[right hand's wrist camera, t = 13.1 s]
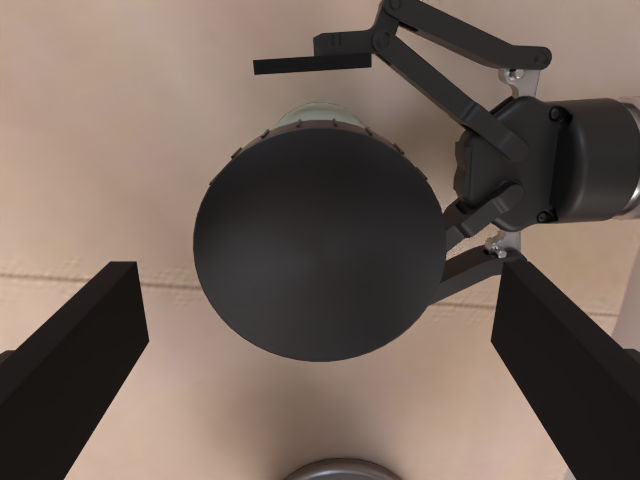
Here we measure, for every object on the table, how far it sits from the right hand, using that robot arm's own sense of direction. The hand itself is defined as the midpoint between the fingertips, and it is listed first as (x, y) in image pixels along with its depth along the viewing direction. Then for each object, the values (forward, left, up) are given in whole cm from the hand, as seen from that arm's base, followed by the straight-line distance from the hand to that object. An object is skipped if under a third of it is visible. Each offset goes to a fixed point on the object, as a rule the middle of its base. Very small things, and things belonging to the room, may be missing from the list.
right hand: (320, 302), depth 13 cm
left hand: (0, -3, -16) cm, 16 cm away
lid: (0, 0, -4) cm, 4 cm away
